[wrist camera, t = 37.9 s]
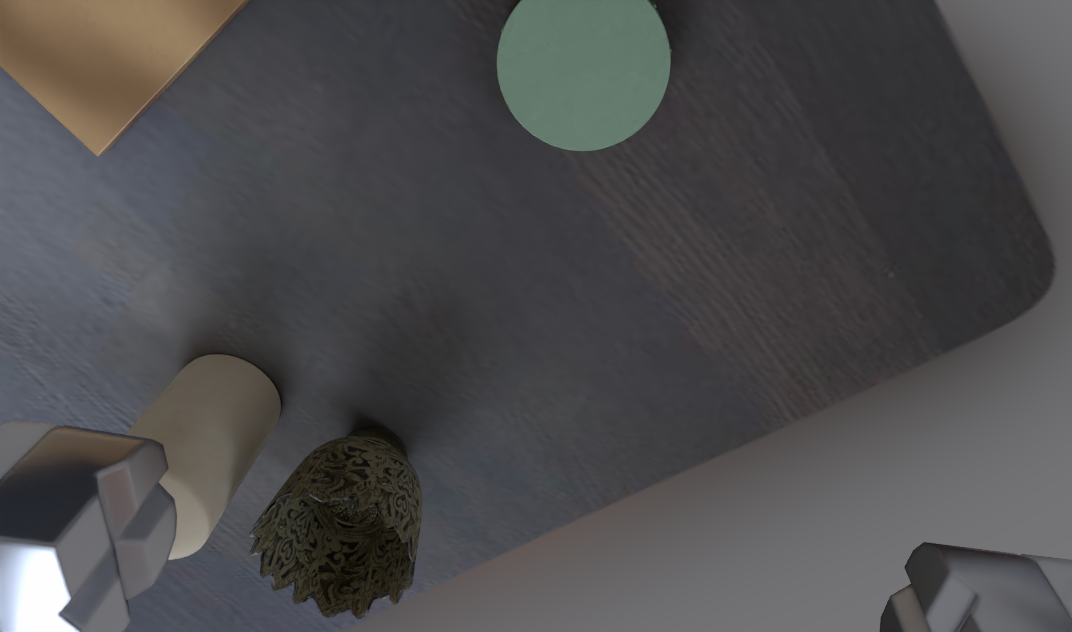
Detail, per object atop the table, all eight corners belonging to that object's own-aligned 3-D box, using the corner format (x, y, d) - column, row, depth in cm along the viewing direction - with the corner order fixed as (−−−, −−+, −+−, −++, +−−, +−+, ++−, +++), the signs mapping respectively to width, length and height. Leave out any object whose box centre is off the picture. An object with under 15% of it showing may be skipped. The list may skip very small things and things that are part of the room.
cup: (394, 370, 38) (347, 479, 31) (472, 472, 41) (444, 592, 34) (281, 422, 41) (213, 534, 34) (362, 515, 43) (315, 636, 37)
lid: (495, 130, 32) (490, 140, 30) (508, -42, 28) (503, -39, 27) (652, 149, 32) (654, 160, 30) (683, -22, 28) (686, -17, 27)
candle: (298, 385, 39) (210, 528, 31) (261, 453, 42) (170, 603, 33) (197, 334, 38) (77, 467, 30) (165, 407, 41) (46, 550, 32)
